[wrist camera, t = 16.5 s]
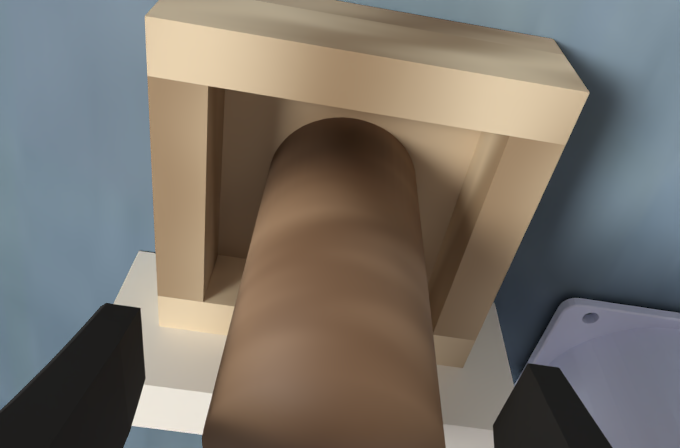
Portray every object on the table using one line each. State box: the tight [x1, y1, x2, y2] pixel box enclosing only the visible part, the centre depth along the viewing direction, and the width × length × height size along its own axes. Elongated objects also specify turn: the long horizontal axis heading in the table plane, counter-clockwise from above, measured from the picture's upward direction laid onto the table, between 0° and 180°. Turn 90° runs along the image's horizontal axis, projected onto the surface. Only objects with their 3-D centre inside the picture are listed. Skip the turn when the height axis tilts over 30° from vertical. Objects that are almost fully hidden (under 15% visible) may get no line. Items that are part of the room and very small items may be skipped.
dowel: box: [202, 117, 446, 448], centre depth 13 cm, size 4×4×8 cm
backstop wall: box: [114, 251, 514, 448], centre depth 18 cm, size 12×2×5 cm, turn 81°
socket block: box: [145, 0, 590, 368], centre depth 16 cm, size 9×9×3 cm
